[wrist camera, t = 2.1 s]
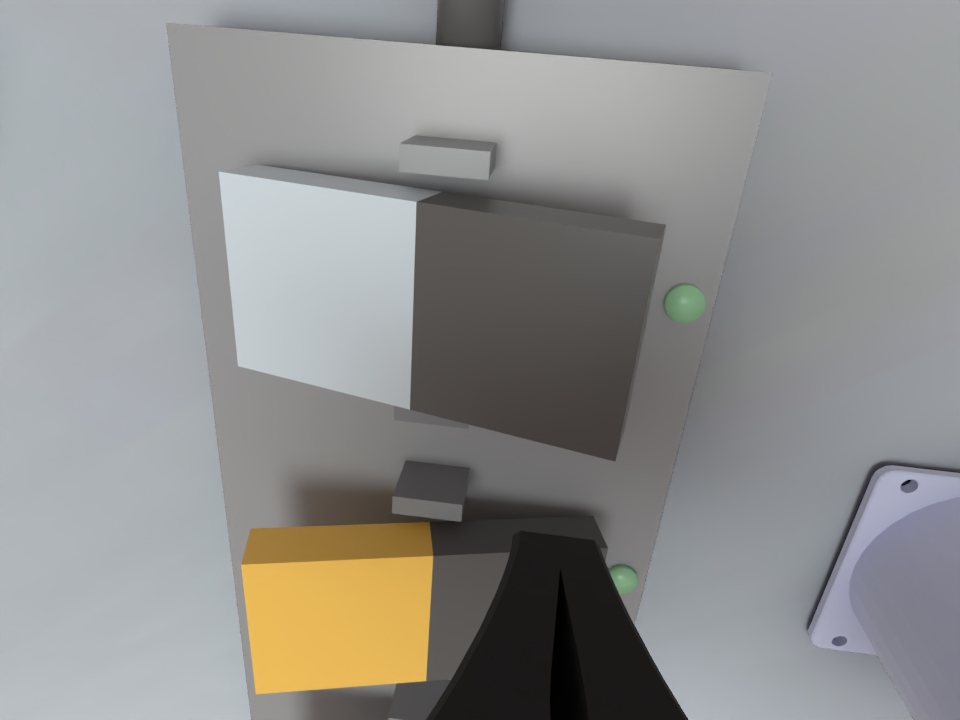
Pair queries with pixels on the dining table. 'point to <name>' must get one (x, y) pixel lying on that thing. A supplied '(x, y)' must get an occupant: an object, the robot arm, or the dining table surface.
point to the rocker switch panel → (474, 172)
